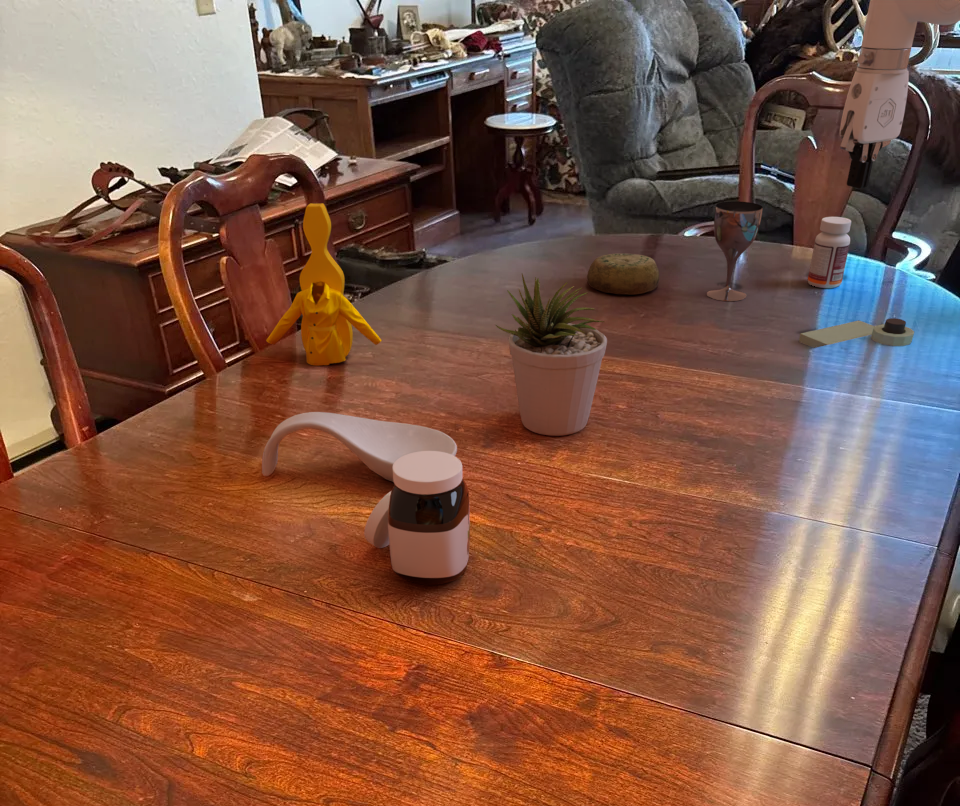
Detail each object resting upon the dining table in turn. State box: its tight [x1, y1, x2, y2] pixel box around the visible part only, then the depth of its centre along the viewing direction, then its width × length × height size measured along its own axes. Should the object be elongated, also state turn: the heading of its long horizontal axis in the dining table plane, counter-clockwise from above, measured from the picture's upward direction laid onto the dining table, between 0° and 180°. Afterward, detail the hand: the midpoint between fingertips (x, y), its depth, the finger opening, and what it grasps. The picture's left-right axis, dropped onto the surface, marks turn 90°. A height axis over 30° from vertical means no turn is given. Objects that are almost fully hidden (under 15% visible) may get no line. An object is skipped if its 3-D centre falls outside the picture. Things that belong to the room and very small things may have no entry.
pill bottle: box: [807, 216, 852, 289], centre depth 175 cm, size 6×6×11 cm
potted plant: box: [495, 273, 608, 437], centre depth 123 cm, size 13×14×20 cm
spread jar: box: [363, 451, 471, 586], centre depth 97 cm, size 12×11×12 cm
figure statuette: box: [265, 202, 383, 367], centre depth 142 cm, size 18×8×22 cm, turn 87°
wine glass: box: [706, 200, 764, 302], centre depth 169 cm, size 8×8×15 cm
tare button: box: [883, 317, 907, 334], centre depth 148 cm, size 3×3×2 cm
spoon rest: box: [261, 411, 458, 483], centre depth 115 cm, size 24×12×7 cm, turn 89°
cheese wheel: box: [586, 252, 660, 296], centre depth 177 cm, size 14×14×5 cm
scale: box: [798, 320, 915, 349], centre depth 150 cm, size 13×12×3 cm
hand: (856, 186), depth 162 cm, fingers closed
